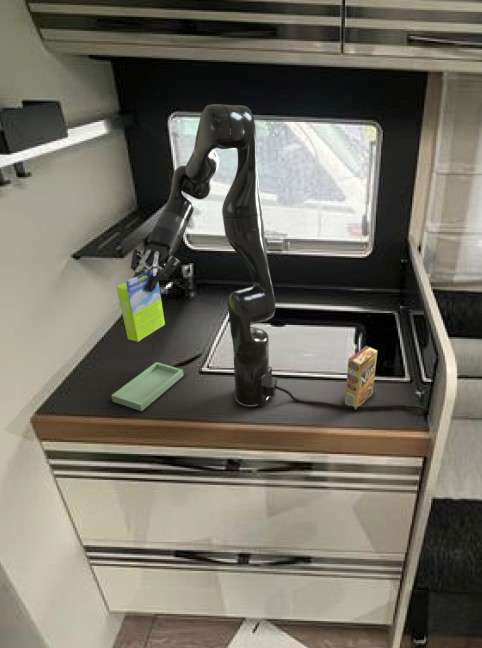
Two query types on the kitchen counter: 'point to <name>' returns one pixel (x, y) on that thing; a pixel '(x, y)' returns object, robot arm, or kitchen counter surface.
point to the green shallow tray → (147, 386)
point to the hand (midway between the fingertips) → (141, 288)
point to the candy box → (360, 377)
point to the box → (140, 307)
